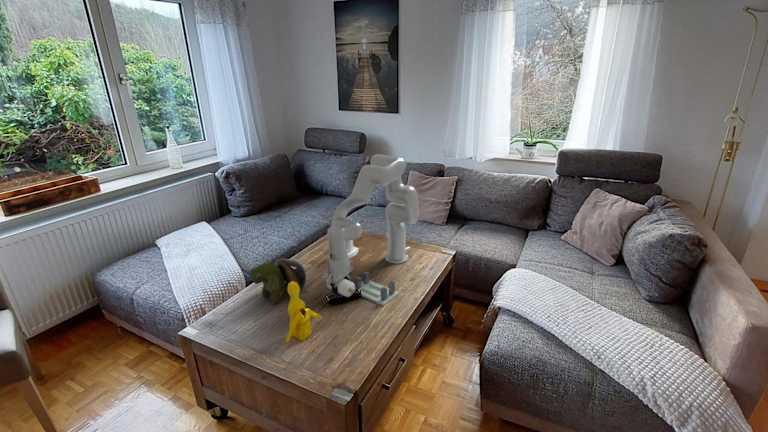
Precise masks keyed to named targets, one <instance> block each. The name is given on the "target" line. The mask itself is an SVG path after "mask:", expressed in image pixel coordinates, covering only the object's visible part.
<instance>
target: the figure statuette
mask: <svg viewBox="0 0 768 432" xmlns="http://www.w3.org/2000/svg"><path fill="white" fill-rule="evenodd" d="M286 290H287V293H288V295H289V297H290V300H289V302H288V305H287V306H288V307H287V313H288V315H289V324H288V326H289V328H288V329H289V331H288V334H287V336H286V340H285V343H288V342H289V341H290V339H291V338H292V337H294V338H297V339H298V341H305V340H306V339H307V338H309V336H310V335H311V334H312V332H313V331H312V326H311V323H310V320H311V317H312V318H314V319H316V320H321V319H322V318H323V317H322V316H321V315H320V314H318V313H316V312H315V311H313V310H312V309H310V308H306V303H305V301H303V300H302V299H301V298H300V292H301V291H300V288H299V285H298V284H297V283H296V282H294V281H292V282H290V283H288V288H286Z"/></svg>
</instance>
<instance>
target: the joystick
mask: <svg viewBox="0 0 768 432" xmlns="http://www.w3.org/2000/svg"><path fill="white" fill-rule="evenodd" d="M346 245H347V248H348V250H347V254H348V257H349V259H351V258H353V257H355V256H356V255H357V254H358V253H359V247H357V246H354V240H350V241H347V242H346Z"/></svg>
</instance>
